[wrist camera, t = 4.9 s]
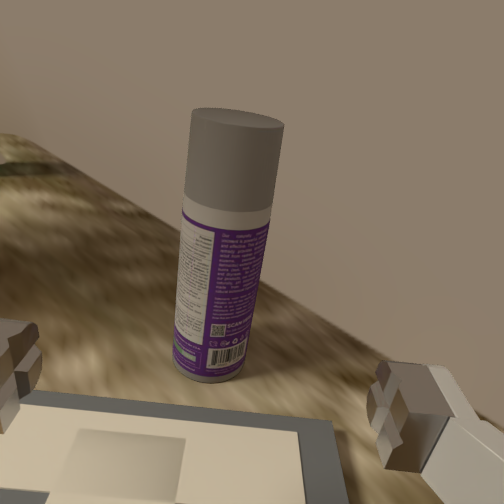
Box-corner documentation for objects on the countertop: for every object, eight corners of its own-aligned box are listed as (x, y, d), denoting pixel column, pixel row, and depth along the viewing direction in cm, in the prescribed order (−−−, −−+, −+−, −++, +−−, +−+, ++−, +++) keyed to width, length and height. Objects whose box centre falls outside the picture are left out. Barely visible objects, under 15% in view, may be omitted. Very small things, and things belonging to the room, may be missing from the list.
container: (247, 338, 28) (286, 117, 21) (241, 389, 24) (288, 133, 17) (181, 328, 28) (199, 103, 21) (163, 377, 24) (179, 116, 17)
